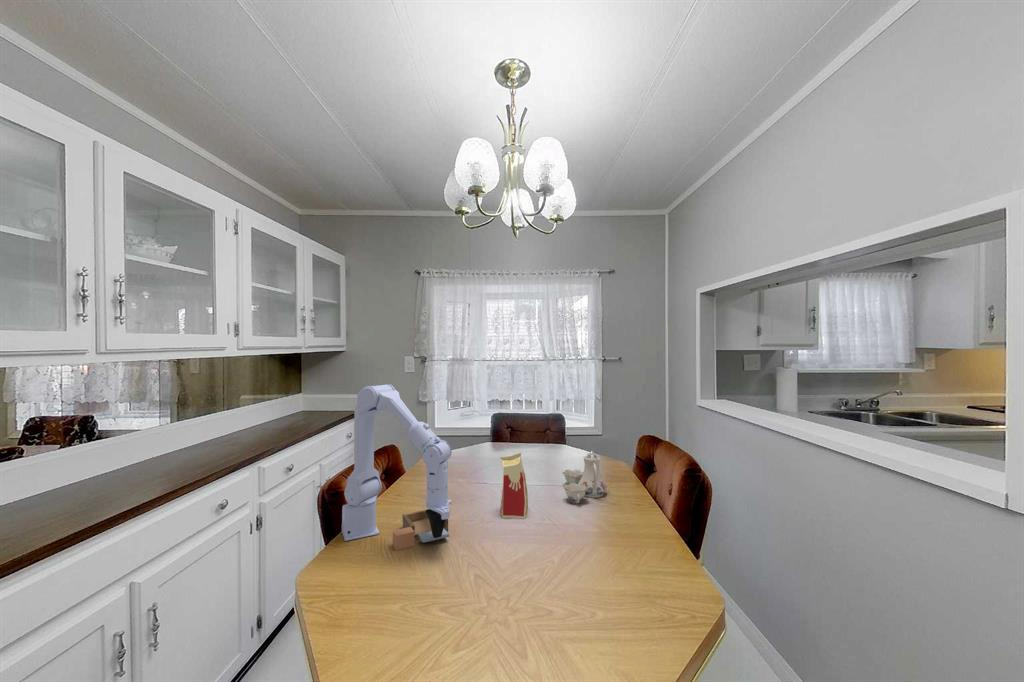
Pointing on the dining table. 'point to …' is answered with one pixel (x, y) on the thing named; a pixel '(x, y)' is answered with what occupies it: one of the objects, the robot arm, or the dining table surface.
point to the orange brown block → (403, 538)
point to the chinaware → (585, 480)
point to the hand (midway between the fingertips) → (437, 536)
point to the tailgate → (431, 536)
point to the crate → (419, 522)
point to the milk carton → (514, 488)
